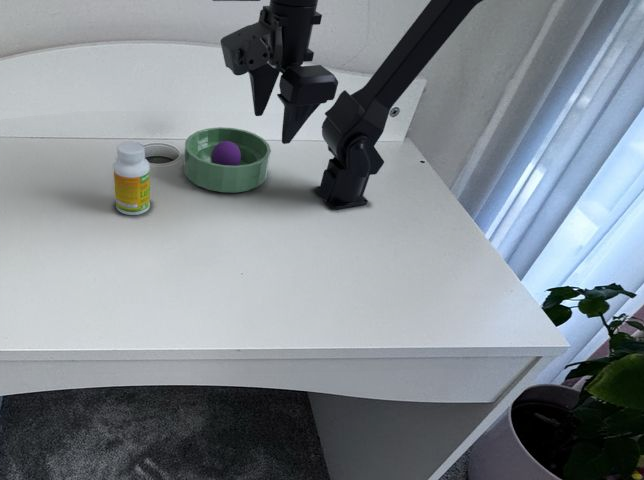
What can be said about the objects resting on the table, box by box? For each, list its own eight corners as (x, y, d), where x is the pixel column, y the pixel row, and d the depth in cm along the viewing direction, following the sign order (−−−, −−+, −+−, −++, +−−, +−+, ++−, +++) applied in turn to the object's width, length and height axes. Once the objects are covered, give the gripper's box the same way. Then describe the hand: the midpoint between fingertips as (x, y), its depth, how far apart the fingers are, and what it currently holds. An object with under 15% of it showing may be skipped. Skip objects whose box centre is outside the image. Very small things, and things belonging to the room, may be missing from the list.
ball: (232, 162, 89) (235, 134, 85) (243, 175, 86) (247, 146, 82) (206, 166, 88) (208, 137, 84) (216, 179, 84) (218, 150, 81)
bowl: (246, 150, 93) (249, 123, 90) (279, 189, 84) (285, 161, 81) (173, 159, 90) (174, 132, 86) (200, 201, 81) (202, 172, 77)
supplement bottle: (145, 218, 77) (144, 158, 70) (111, 213, 78) (107, 153, 70) (153, 200, 81) (153, 141, 73) (121, 195, 81) (118, 136, 74)
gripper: (205, -17, 65) (197, 107, 76) (265, 27, 53) (245, 166, 65) (282, -19, 68) (263, 101, 79) (356, 22, 56) (321, 156, 67)
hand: (271, 128), depth 72 cm, fingers open, 9 cm apart
